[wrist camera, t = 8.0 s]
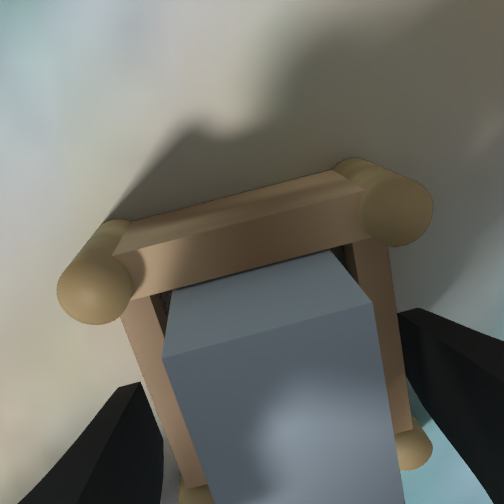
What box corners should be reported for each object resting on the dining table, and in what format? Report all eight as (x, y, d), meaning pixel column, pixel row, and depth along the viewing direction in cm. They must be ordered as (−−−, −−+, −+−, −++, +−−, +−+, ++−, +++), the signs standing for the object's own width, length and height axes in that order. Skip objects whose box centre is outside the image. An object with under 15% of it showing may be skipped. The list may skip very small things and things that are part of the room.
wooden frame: (186, 501, 17) (182, 599, 14) (78, 228, 13) (36, 272, 10) (419, 439, 17) (470, 520, 14) (380, 150, 13) (438, 168, 10)
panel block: (235, 426, 16) (251, 602, 11) (178, 250, 14) (161, 358, 8) (341, 398, 16) (414, 558, 11) (304, 217, 14) (372, 302, 8)
